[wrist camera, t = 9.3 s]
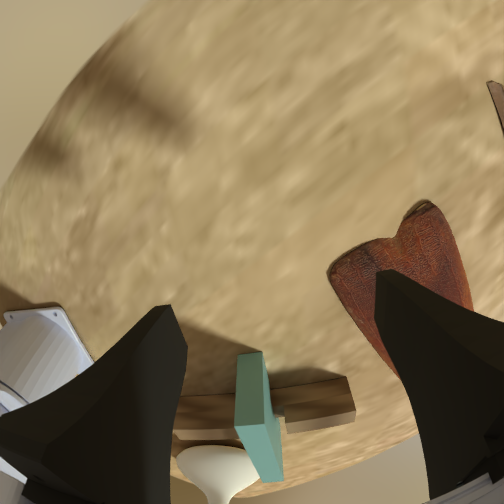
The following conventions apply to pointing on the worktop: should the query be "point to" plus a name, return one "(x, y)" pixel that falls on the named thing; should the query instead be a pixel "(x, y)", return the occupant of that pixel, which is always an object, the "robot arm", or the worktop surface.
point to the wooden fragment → (498, 97)
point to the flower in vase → (217, 470)
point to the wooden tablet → (402, 269)
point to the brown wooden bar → (284, 405)
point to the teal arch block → (257, 418)
